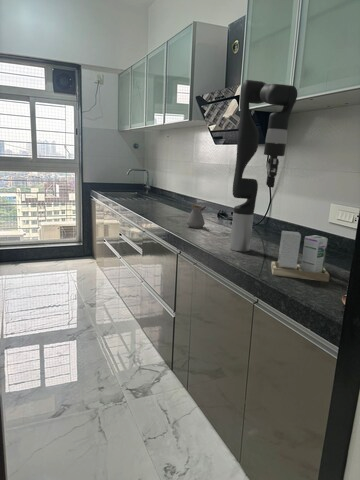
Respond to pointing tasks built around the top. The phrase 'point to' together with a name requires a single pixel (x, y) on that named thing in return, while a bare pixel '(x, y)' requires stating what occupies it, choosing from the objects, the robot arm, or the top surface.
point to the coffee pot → (196, 217)
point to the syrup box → (314, 253)
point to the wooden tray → (299, 273)
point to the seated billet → (289, 250)
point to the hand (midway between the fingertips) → (269, 186)
